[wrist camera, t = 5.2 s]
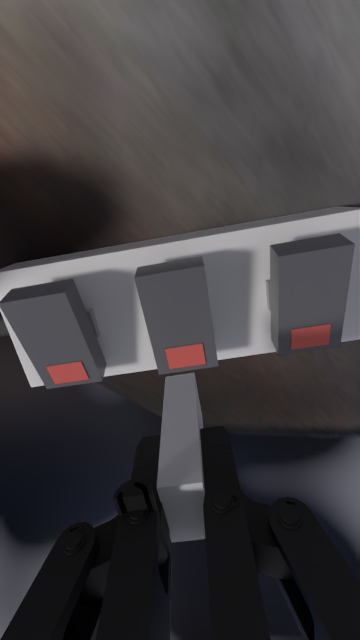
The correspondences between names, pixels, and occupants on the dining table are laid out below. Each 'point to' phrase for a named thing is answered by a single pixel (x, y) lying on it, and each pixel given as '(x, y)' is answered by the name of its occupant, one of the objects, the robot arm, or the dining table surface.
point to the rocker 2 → (177, 314)
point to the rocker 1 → (55, 333)
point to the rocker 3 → (309, 292)
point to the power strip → (221, 275)
